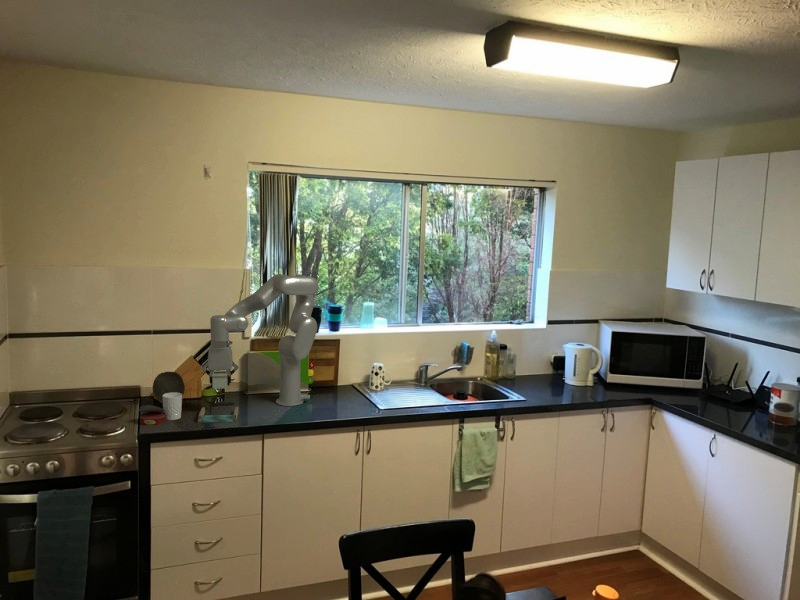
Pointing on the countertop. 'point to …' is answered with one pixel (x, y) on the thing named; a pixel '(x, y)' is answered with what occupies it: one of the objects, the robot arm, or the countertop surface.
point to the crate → (220, 379)
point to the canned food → (152, 415)
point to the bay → (217, 417)
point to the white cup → (172, 405)
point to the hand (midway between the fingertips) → (220, 384)
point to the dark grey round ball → (167, 384)
